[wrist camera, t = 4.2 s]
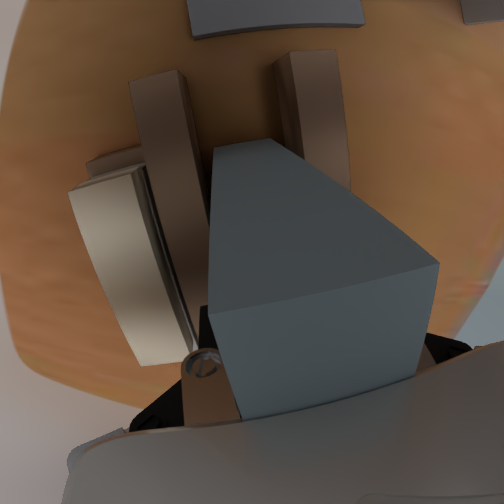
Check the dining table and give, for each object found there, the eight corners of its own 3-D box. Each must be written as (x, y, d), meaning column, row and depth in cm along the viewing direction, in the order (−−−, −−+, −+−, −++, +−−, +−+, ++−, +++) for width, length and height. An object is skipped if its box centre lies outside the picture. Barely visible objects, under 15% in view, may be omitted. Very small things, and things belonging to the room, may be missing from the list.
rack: (148, 86, 14) (128, 82, 11) (309, 60, 14) (335, 49, 11) (217, 352, 22) (218, 394, 19) (331, 329, 22) (348, 367, 19)
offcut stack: (96, 157, 15) (58, 178, 11) (154, 141, 15) (132, 155, 11) (155, 329, 21) (145, 381, 17) (203, 322, 21) (203, 374, 17)
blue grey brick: (213, 147, 16) (207, 314, 4) (269, 137, 16) (439, 262, 4) (245, 303, 21) (282, 519, 8) (290, 294, 21) (363, 499, 8)
